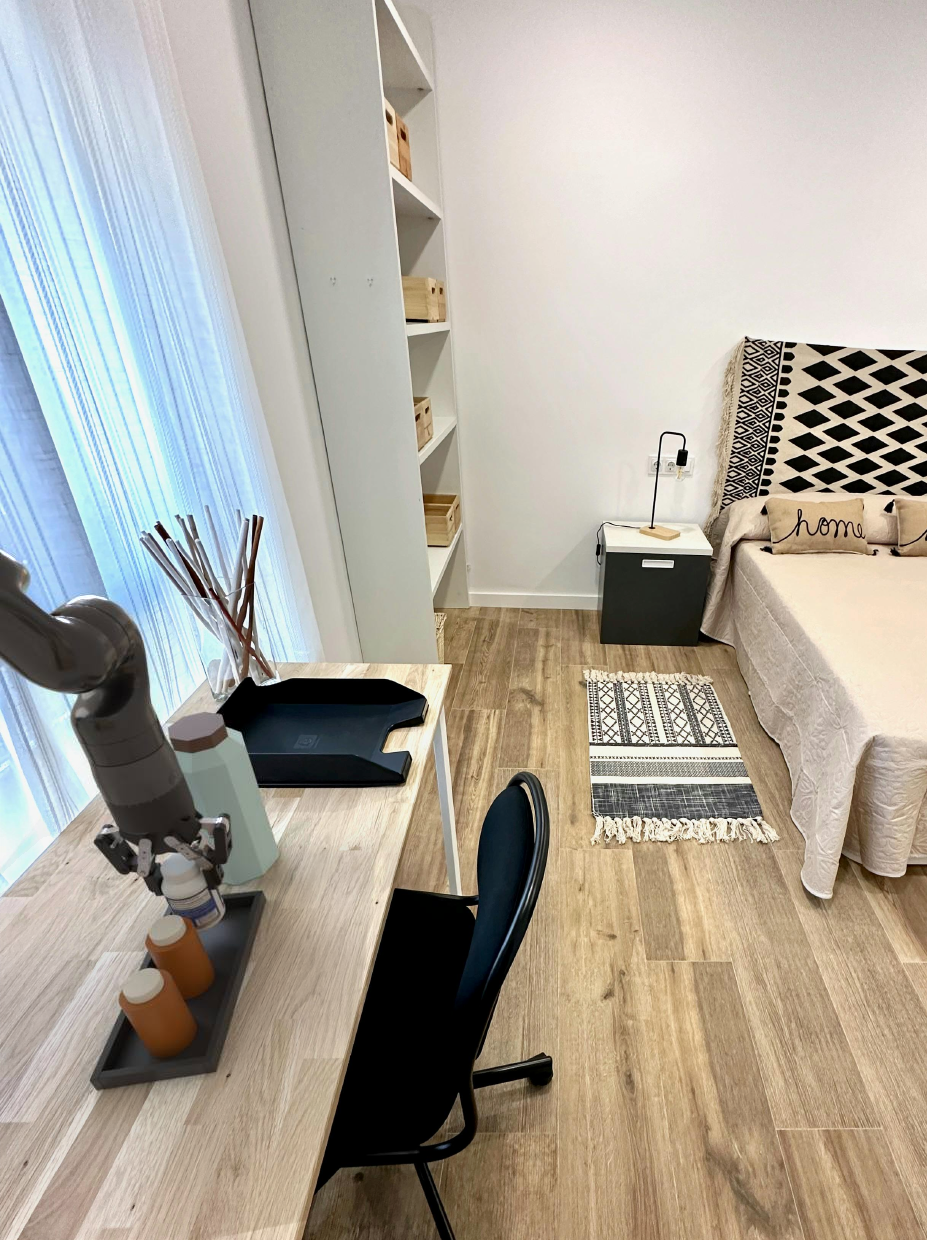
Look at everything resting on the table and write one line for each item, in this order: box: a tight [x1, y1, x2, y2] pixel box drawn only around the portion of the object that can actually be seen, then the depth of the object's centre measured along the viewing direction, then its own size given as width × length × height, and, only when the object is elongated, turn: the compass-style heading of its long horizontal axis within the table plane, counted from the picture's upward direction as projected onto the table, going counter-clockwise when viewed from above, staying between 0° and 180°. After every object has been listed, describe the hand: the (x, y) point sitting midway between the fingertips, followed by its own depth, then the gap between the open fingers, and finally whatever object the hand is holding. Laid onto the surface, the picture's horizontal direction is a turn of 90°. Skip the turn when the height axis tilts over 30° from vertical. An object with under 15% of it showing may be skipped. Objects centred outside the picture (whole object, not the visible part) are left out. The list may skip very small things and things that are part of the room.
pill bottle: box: [160, 853, 225, 932], centre depth 78 cm, size 5×5×10 cm
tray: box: [89, 889, 267, 1091], centre depth 76 cm, size 12×24×3 cm, turn 10°
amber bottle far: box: [118, 968, 197, 1059], centre depth 68 cm, size 5×5×10 cm
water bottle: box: [167, 711, 281, 886], centre depth 87 cm, size 10×10×25 cm
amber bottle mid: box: [144, 915, 215, 1000], centre depth 74 cm, size 5×5×10 cm
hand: (189, 887), depth 77 cm, fingers closed on pill bottle, 5 cm apart
